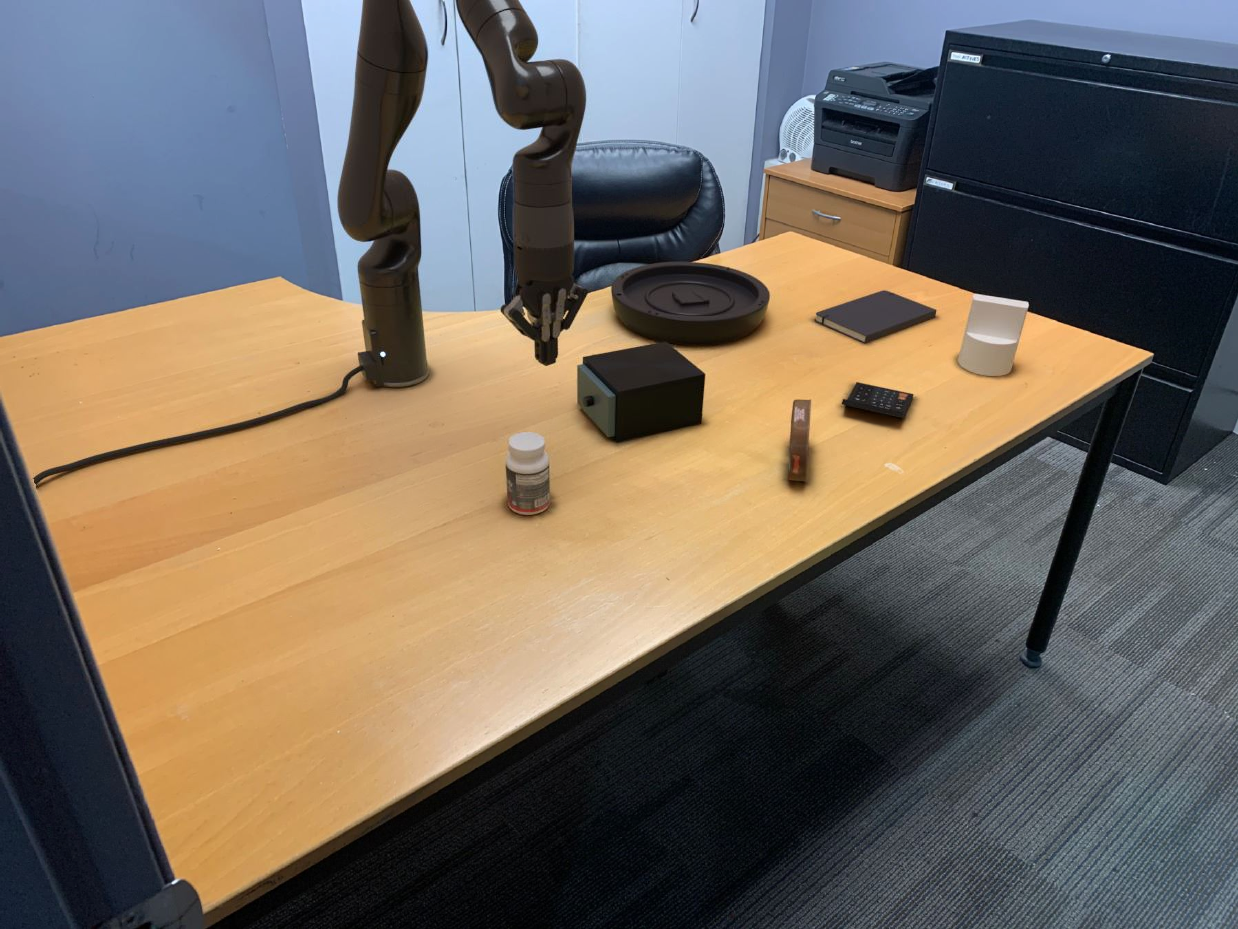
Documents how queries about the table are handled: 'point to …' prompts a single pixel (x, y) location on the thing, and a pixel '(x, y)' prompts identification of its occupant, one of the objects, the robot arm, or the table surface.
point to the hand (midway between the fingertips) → (546, 362)
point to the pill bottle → (527, 474)
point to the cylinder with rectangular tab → (992, 335)
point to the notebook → (874, 315)
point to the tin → (799, 440)
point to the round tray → (689, 302)
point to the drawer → (596, 399)
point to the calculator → (879, 399)
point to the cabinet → (650, 389)
